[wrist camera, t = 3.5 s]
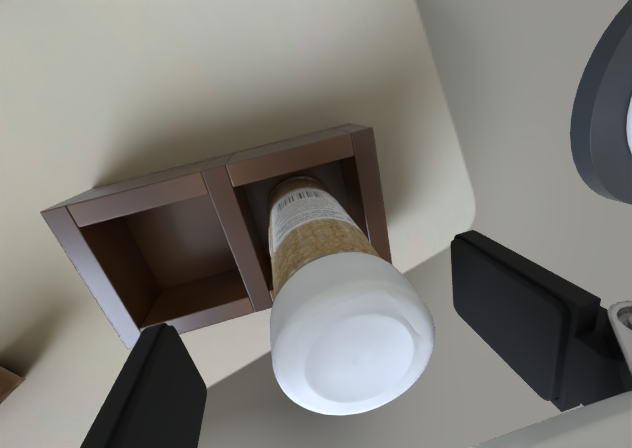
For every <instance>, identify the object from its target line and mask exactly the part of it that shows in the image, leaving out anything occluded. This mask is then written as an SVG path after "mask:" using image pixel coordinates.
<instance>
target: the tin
mask: <svg viewBox="0 0 632 448" xmlns="http://www.w3.org/2000/svg"><path fill="white" fill-rule="evenodd" d="M24 380H25V377H19V376H17V375H16V374H14V373H12V372H10V371H8V370H6V369H4V368H3V367H1V366H0V404H1V403H2V402H3V401H4V400H5V399H6V398H7V397H8V396H9V395H10V394H11V393H12V392H13V391H14V390H15V389H16V388H17V387H18V386H19V385H20V384H21V383H22V382H23V381H24Z"/></svg>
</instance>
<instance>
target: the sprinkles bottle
mask: <svg viewBox="0 0 632 448" xmlns="http://www.w3.org/2000/svg"><path fill="white" fill-rule="evenodd" d="M267 214H268V218H269V221H270V226H269V250H270V255H271V261H272V273H273V287H274V295H275V296H274V299H275V300H274V303H273V306H272V311H271V316H270V342H271V353H272V363H273V369H274V373H275V376H276V379H277V381H278V383H279V385H280V386H281V388H282V390H283V391H284V392H285V393H286V395H287V396H288V397H290V399H291V400H293V401H294V402H295V403H297V404H299V405H300V406H302V407H304V408H306V409H309V410H311V411H314V412H318V413H322V414H330V415H348V414H357V413H361V412H366V411H369V410H371V409H374V408H377V407H380V406H382V405H384V404H386V403H388V402H390V401H391V400H393V399H395V398H396V397H398V396H399V395H401V394H402V393H403V392H405V391H406V390H407V389H408V388H409V387H410V386H412V384H413V383H414V382H415V381H416V380H417V379H418V378H419V376H420V375H421V374H422V372H423V371H424V369H425V368H426V366H427V364H428V362H429V360H430V358H431V355H432V352H433V348H434V343H435V327H434V323H433V318H432V316H431V313H430V311H429V309H428V307H427V306H426V304H425V303H424V301H423V300H422V299H421V297H420V296H419V295H418V294H417V292H416V291H415V290H414V289H413V287H412V286H411V285H410V283H409V282H408V281H407V280H406V279H405V277H404V276H403V275H402V274H401V273H400V272H399V271H398V270H397V269H396V268H395V267H394V266H393V265H392V264H390V263H388V262H387V261H385V260H383V259H382V258H381V257H380V256H379V254H378V253H377V252H376V251H375V249H374V248H373V247H372V246H371V244H370V243H369V241H368V239H367V237H366V236H365V235H364V233H363V232H362V231H361V230H360V228H359V227H358V226H357V225H356V224H355V222H354V221H353V220H352V219H351V218H350V216H349V215H348V214H347V213H346V211H345V210H344V209H343V208H342V207H341V205H340V204H339V203H338V202H337V200H336V199H335V198H334V197H333V196H332V195H331V193H330V191H329V190H328V188H327V187H326V186H325V185H324V184H323V183H322V182H320V181H319V180H317V179H315V178H312V177H309V176H295V177H290V178H287V179H286V180H284V181H282V182H281V183H279V184H278V185H277V186H276V187H275V189H274V190H273V191H272V192H271V195H270V197H269V200H268V203H267Z"/></svg>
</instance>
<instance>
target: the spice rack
mask: <svg viewBox="0 0 632 448" xmlns="http://www.w3.org/2000/svg"><path fill="white" fill-rule="evenodd" d="M295 176H309V177H312V178H315V179H317V180H319V181H320V182H322V183H323V184H324V185H325V186H326V187H327V188H328V190H329V191H330V193H331V195H332V196H333V197H334V198H335V199H336V200H337V202H338V203H339V204H340V205H341V207H342V208H343V209H344V210H345V211H346V213H347V214H348V215H349V216H350V218H351V219H352V220H353V221H354V222H355V224H356V225H357V226H358V227H359V228H360V230H361V231H362V232H363V233H364V235H365V236H366V237H367V239H368V241H369V243H370V244H371V246H372V247H373V248H374V249H375V251H376V252H377V253H378V254H379V256H380V257H381V258H382V259H383V260H385V261H387V262H388V263H390V264H392V260H391V253H390V246H389V239H388V231H387V224H386V217H385V210H384V203H383V196H382V189H381V182H380V175H379V168H378V161H377V153H376V146H375V139H374V132H373V128H372V127H366V126H360V125H353V124H347V125H343V126H339V127H335V128H331V129H327V130H323V131H319V132H315V133H311V134H307V135H303V136H299V137H295V138H291V139H287V140H283V141H280V142H276V143H272V144H268V145H264V146H260V147H256V148H252V149H248V150H244V151H240V152H236V153H232V154H228V155H224V156H220V157H216V158H212V159H208V160H204V161H200V162H196V163H193V164H189V165H185V166H181V167H177V168H173V169H169V170H165V171H161V172H157V173H153V174H149V175H145V176H141V177H137V178H133V179H129V180H125V181H121V182H117V183H113V184H109V185H106V186H102V187H98V188H94V189H90V190H88V191H86V192H84V193H81V194H79V195H77V196H75V197H72V198H70V199H68V200H66V201H63V202H61V203H59V204H57V205H55V206H52V207H50V208H48V209H46V210H43V211H41V212H40V213H41V215H42V216H43V218H44V220H45V221H46V223H47V224H48V226H49V227H50V229H51V230H52V232H53V234H54V235H55V237H56V238H57V240H58V241H59V243H60V245H61V246H62V248H63V249H64V251H65V252H66V254H67V255H68V257H69V259H70V260H71V262H72V263H73V265H74V266H75V268H76V269H77V271H78V273H79V274H80V276H81V277H82V279H83V280H84V282H85V284H86V285H87V287H88V288H89V290H90V291H91V293H92V294H93V296H94V298H95V299H96V301H97V302H98V304H99V305H100V307H101V309H102V310H103V312H104V313H105V315H106V316H107V318H108V319H109V321H110V323H111V324H112V326H113V327H114V329H115V330H116V332H117V333H118V335H119V337H120V338H121V340H122V341H123V343H124V344H125V346H126V348H127V349H131V348H133V347H134V346H135V344H136V342H137V340H138V338H139V336H140V334H141V332H142V331H143V329H145V328H147V327H151V326H154V325H157V324H161V323H166V324H168V326H170V325H173V326H174V327H175V329H176V330H177V332H178V334H182V333H186V332H189V331H193V330H196V329H199V328H203V327H206V326H210V325H213V324H217V323H220V322H223V321H227V320H230V319H234V318H237V317H241V316H244V315H247V314H251V313H254V312H258V311H262V310H265V309H269V308H272V306H273V303H274V300H275V299H274V296H275V295H274V287H273V273H272V261H271V255H270V250H269V226H270V221H269V218H268V214H267V203H268V200H269V197H270V195H271V192H272V191H273V190H274V189H275V187H276V186H277V185H278V184H279V183H281V182H282V181H284V180H286V179H287V178H290V177H295Z"/></svg>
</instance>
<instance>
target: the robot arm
mask: <svg viewBox="0 0 632 448" xmlns="http://www.w3.org/2000/svg"><path fill="white" fill-rule="evenodd" d="M626 132H627V140H628V145H629V147H630V150H631V153H632V96H631V99H630V104H629V108H628V113H627V124H626ZM451 264H452V285H453V303H454V308H455V310H456V312H457V313H458V314H459V315H460V317H461V318H462V319H463V320H464V321H465V322H467V324H468V325H469V326H471V327H472V329H473V330H474V331H475V332H476V333H477V334H478V335H479V336H480V337H481V338H482V339H483V340H484V341H485V342H486V343H487V344H488V345H489V346H490V347H491V348H492V349H493V350H494V351H495V352H496V353H497V354H498V355H499V356H500V357H501V358H502V359H503V360H504V361H505V362H506V363H507V364H508V365H509V366H510V367H511V368H512V369H513V370H514V371H515V372H516V373H517V374H518V375H519V376H520V377H521V378H522V379H523V380H524V381H525V382H526V383H527V384H528V385H529V386H530V387H531V388H532V389H533V390H534V391H535V392H536V393H537V394H538V395H539V396H540V397H541V398H543V399H544V400H547V401H549V400H550V401H551V402H552V403H553V404H554V405H555V406H556V407H557V408H558V409H559V410H560V411H561V412H563V411H566V410H569V409H571V408H574V407H576V406H579V405H580V403H581V404H582V405H584V407H581V408H578V409H575V410H572V411H569V412H566V413H563V414H560V415H558V416H555V417H552V418H549V419H546V420H544V421H541V422H538V423H535V424H533V425H530V426H527V427H525V428H522V429H519V430H516V431H513V432H510V433H508V434H505V435H502V436H500V437H497V438H494V439H491V440H488V441H486V442H483V443H480V444H478V445H475V446H472V447H469V448H632V301H625V302H618V303H616V304H613V305H611V306H610V308H609V309H608V310H607V309H605V308H603V307H601V306H600V301H601V299H600V298H599V297H597V296H595V295H593V294H591V293H589V292H587V291H586V290H584V289H582V288H580V287H578V286H576V285H575V284H573V283H571V282H569V281H567V280H565V279H563V278H562V277H560V276H558V275H556V274H554V273H553V272H551V271H549V270H547V269H545V268H543V267H541V266H540V265H538V264H536V263H534V262H532V261H530V260H528V259H527V258H525V257H523V256H521V255H519V254H517V253H516V252H514V251H512V250H510V249H508V248H506V247H504V246H503V245H501V244H499V243H497V242H495V241H493V240H491V239H490V238H488V237H486V236H484V235H482V234H481V233H478V232H477V231H474V230H471V231H467V232H464V233H461V234H457V235H456V236H455V237H454V240H453V241H451ZM206 397H207V390H206V385H205V383H204V381H203V379H202V377H201V375H200V373H199V372H198V370H197V368H196V366H195V364H194V362H193V360H192V358H191V357H190V355H189V353H188V351H187V349H186V347H185V345H184V343H183V342H182V340H181V338H180V336H179V334H178V332H177V330H176V329H175V327H174V326H173V325H170V326H168V324H166V323H161V324H157V325H154V326H151V327H147V328H145V329H143V331H142V332H141V334H140V336H139V338H138V340H137V342H136V344H135V346H134V347H133V349H132V351H131V353H130V355H129V357H128V359H127V361H126V362H125V364H124V366H123V368H122V370H121V372H120V374H119V376H118V377H117V379H116V381H115V383H114V385H113V387H112V389H111V391H110V392H109V394H108V396H107V398H106V400H105V402H104V404H103V406H102V407H101V409H100V411H99V413H98V415H97V417H96V419H95V421H94V422H93V424H92V426H91V428H90V430H89V432H88V434H87V436H86V438H85V439H84V441H83V443H82V445H81V447H80V448H197V446H198V441H199V435H200V430H201V424H202V419H203V413H204V407H205V402H206Z"/></svg>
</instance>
